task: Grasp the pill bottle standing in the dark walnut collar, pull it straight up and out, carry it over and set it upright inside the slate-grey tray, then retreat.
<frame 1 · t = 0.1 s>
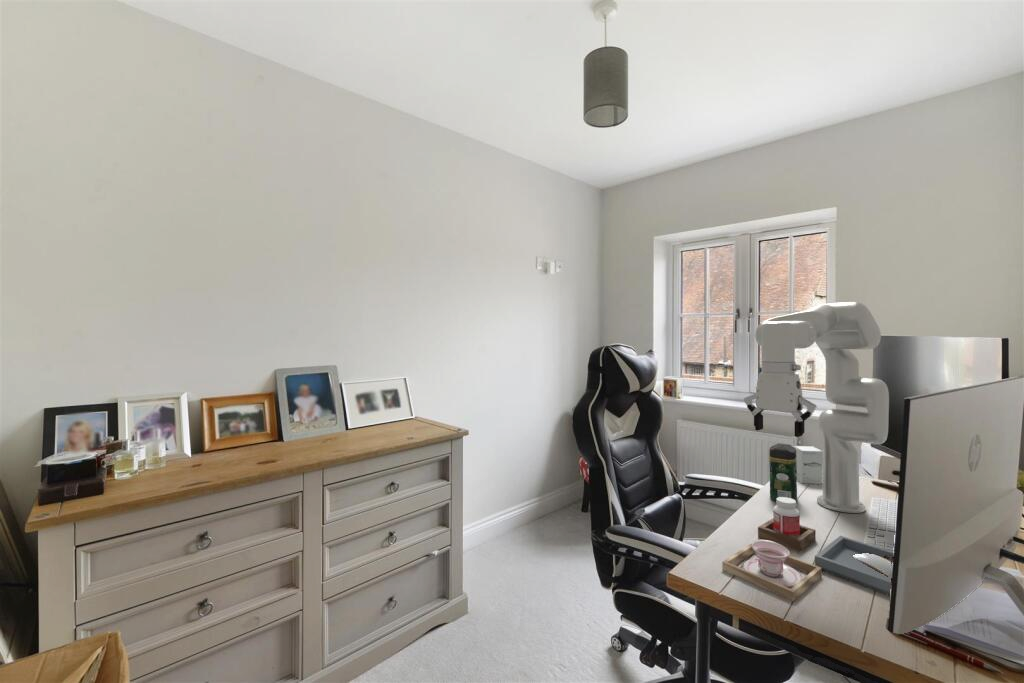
hand: (778, 432, 115), 31 cm above the table, fingers open, 9 cm apart
walnut collar: (786, 539, 120), on the table
coffee jar: (783, 499, 148), on the table
pill bottle: (786, 539, 120), resting in walnut collar
slate tray: (870, 571, 104), on the table
light wooden frame: (771, 572, 104), on the table
supplement box: (807, 481, 165), on the table
teacup: (771, 574, 104), resting in light wooden frame
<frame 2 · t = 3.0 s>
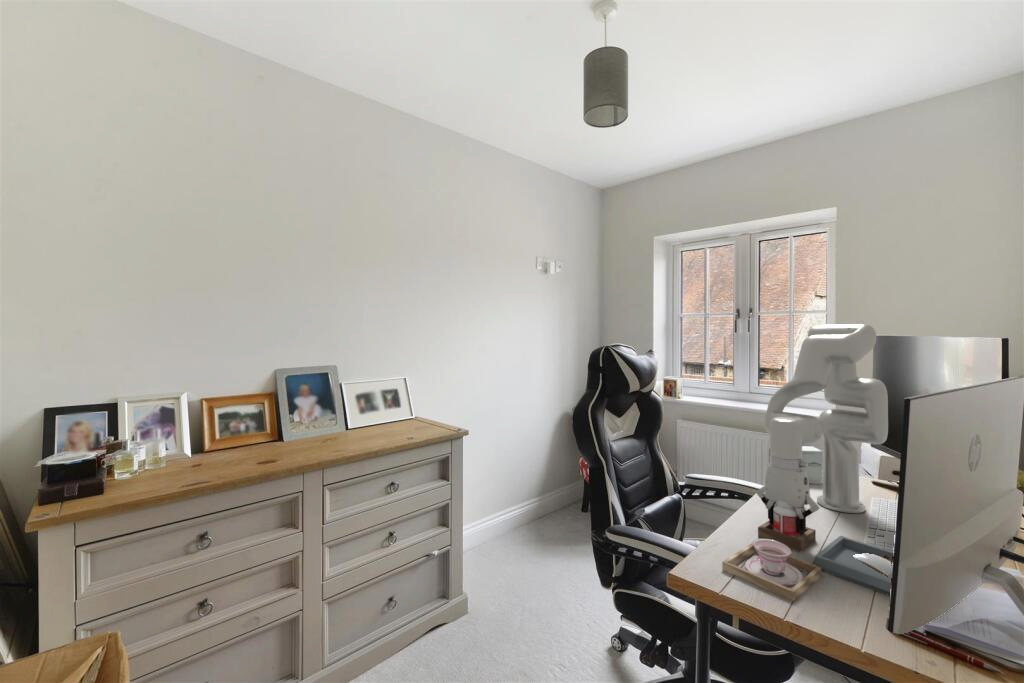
hand: (786, 526, 120), 4 cm above the table, fingers closed on pill bottle, 6 cm apart
pill bottle: (786, 539, 120), resting in walnut collar, touching gripper
everything else where it was.
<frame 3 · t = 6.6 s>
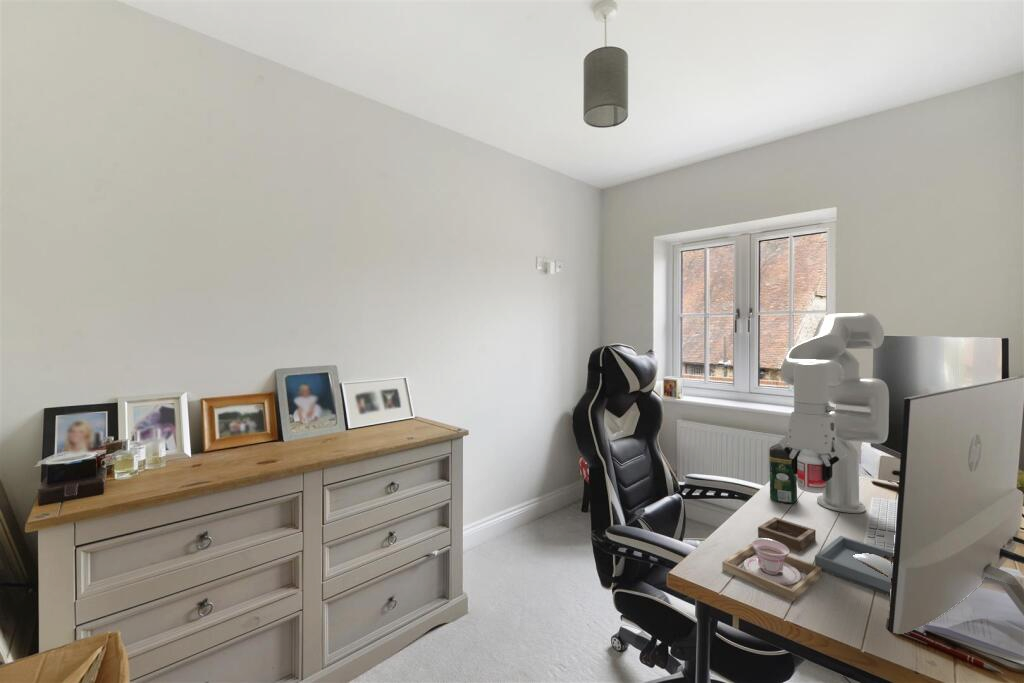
hand: (811, 475, 114), 20 cm above the table, fingers closed on pill bottle, 6 cm apart
pill bottle: (811, 490, 115), point 16 cm above the table, touching gripper
everything else where it was.
when the fingers open (6 cm above the table, at t = 10.4 s): pill bottle drops 1 cm, resting on slate tray.
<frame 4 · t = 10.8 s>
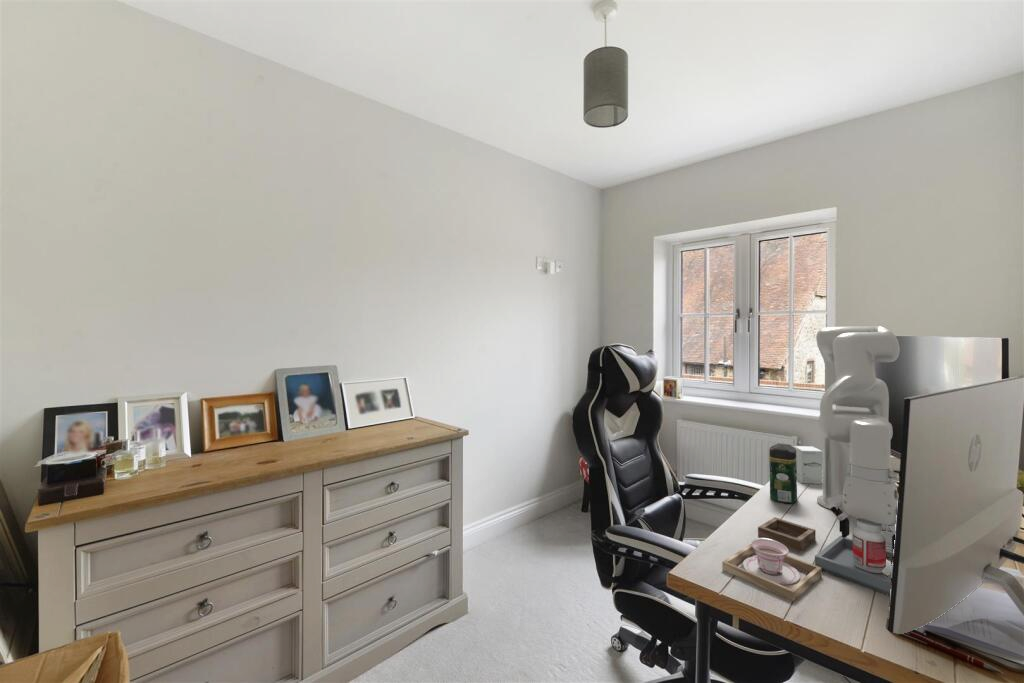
hand: (869, 543, 104), 7 cm above the table, fingers open, 9 cm apart
pill bottle: (868, 568, 104), point 1 cm above the table, touching slate tray
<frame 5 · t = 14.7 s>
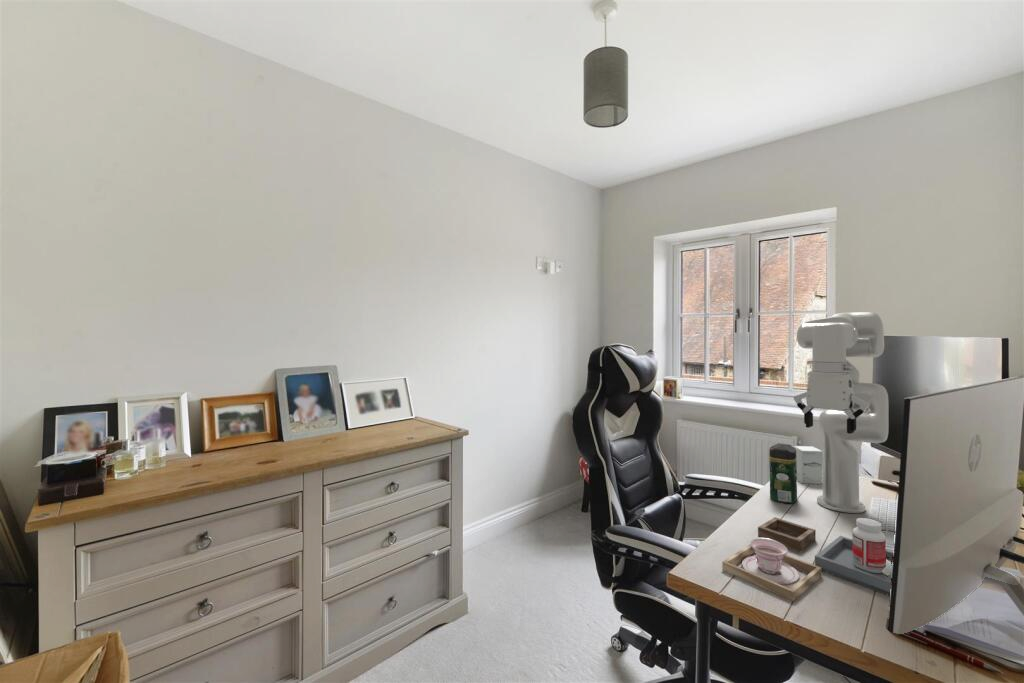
hand: (829, 429, 120), 30 cm above the table, fingers open, 9 cm apart
at the end: pill bottle inside the target area on the slate tray (0.4 cm from its centre), point 0.6 cm above the slate tray's base; pill bottle tilted 0°; the gripper is holding nothing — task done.
